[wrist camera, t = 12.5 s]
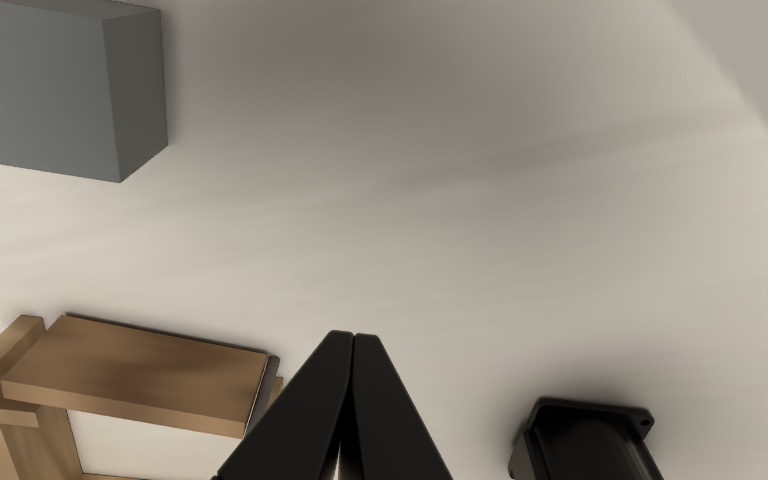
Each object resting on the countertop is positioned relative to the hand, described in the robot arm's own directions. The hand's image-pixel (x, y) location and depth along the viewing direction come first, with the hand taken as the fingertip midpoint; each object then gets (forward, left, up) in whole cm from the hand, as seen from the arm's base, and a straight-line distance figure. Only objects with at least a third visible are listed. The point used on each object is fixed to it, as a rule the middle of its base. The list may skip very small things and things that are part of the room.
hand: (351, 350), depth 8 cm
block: (+11, -1, -12) cm, 16 cm away
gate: (+9, +12, -12) cm, 19 cm away
